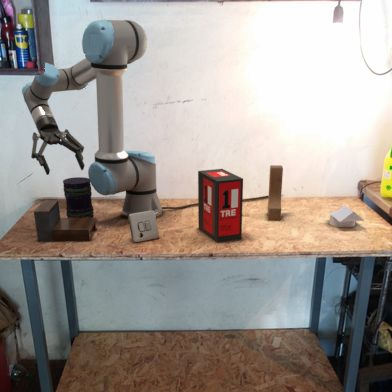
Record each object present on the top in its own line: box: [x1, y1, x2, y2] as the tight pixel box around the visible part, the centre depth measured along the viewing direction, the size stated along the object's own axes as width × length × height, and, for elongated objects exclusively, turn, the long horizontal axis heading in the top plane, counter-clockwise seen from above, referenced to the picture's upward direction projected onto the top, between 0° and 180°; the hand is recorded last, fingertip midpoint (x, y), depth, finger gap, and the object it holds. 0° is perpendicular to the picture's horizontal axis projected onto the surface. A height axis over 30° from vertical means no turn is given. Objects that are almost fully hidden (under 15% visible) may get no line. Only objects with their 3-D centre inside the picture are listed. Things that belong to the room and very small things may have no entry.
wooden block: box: [267, 164, 284, 221], centre depth 211 cm, size 9×4×18 cm, turn 176°
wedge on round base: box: [329, 204, 365, 228], centre depth 203 cm, size 9×7×13 cm
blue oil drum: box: [62, 176, 95, 218], centre depth 209 cm, size 10×10×15 cm
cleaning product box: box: [197, 168, 244, 244], centre depth 193 cm, size 16×9×20 cm, turn 22°
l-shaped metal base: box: [33, 199, 97, 242], centre depth 196 cm, size 18×14×10 cm
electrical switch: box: [127, 210, 160, 243], centre depth 192 cm, size 9×5×9 cm, turn 121°
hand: (66, 170), depth 211 cm, fingers open, 13 cm apart
